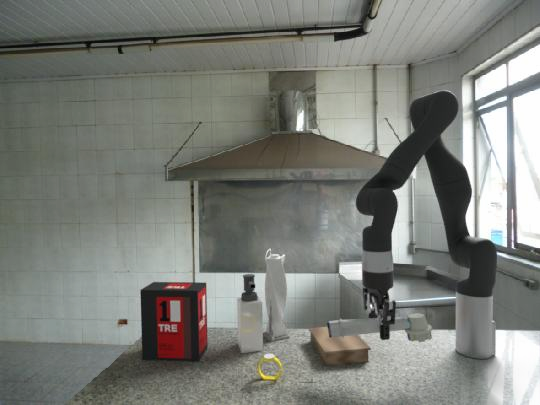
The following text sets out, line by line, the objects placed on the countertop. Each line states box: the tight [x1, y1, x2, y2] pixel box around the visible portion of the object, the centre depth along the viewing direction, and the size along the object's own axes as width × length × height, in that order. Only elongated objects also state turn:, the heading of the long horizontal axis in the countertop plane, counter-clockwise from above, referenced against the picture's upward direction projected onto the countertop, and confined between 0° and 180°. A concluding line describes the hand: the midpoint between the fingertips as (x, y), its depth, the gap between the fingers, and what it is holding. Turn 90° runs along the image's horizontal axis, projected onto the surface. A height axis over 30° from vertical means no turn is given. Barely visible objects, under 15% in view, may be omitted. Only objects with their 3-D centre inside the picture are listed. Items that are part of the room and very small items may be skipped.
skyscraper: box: [263, 248, 291, 343], centre depth 119 cm, size 8×8×28 cm
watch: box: [257, 353, 283, 381], centre depth 92 cm, size 6×3×6 cm, turn 84°
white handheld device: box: [326, 312, 433, 343], centre depth 91 cm, size 5×7×25 cm
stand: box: [308, 326, 372, 366], centre depth 107 cm, size 13×17×4 cm
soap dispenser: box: [236, 273, 264, 354], centre depth 109 cm, size 6×9×22 cm
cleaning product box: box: [139, 281, 209, 363], centre depth 106 cm, size 16×9×20 cm, turn 84°
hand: (378, 333), depth 91 cm, fingers closed on white handheld device, 6 cm apart
